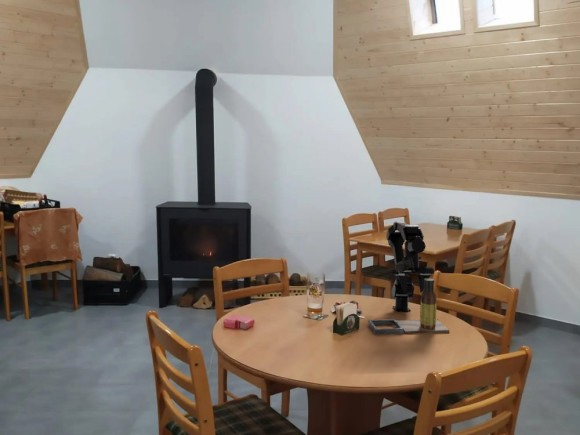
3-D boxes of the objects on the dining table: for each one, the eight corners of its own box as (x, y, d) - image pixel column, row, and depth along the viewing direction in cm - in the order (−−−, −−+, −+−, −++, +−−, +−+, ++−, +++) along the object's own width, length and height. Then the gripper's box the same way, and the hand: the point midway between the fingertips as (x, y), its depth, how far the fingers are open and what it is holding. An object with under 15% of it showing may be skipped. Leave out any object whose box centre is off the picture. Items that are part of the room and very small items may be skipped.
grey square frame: (368, 324, 210) (368, 319, 210) (395, 323, 211) (395, 319, 211) (375, 334, 199) (375, 329, 199) (403, 333, 200) (403, 328, 200)
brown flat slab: (395, 322, 213) (395, 320, 213) (436, 321, 215) (437, 319, 215) (405, 333, 200) (405, 331, 200) (449, 332, 202) (449, 330, 202)
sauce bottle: (428, 323, 210) (430, 276, 207) (439, 328, 204) (441, 279, 201) (415, 325, 206) (418, 278, 204) (426, 330, 201) (429, 281, 198)
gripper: (382, 255, 218) (382, 291, 216) (415, 252, 203) (416, 292, 200) (400, 256, 224) (401, 291, 222) (434, 253, 209) (435, 292, 207)
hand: (412, 291), depth 213 cm, fingers open, 9 cm apart
